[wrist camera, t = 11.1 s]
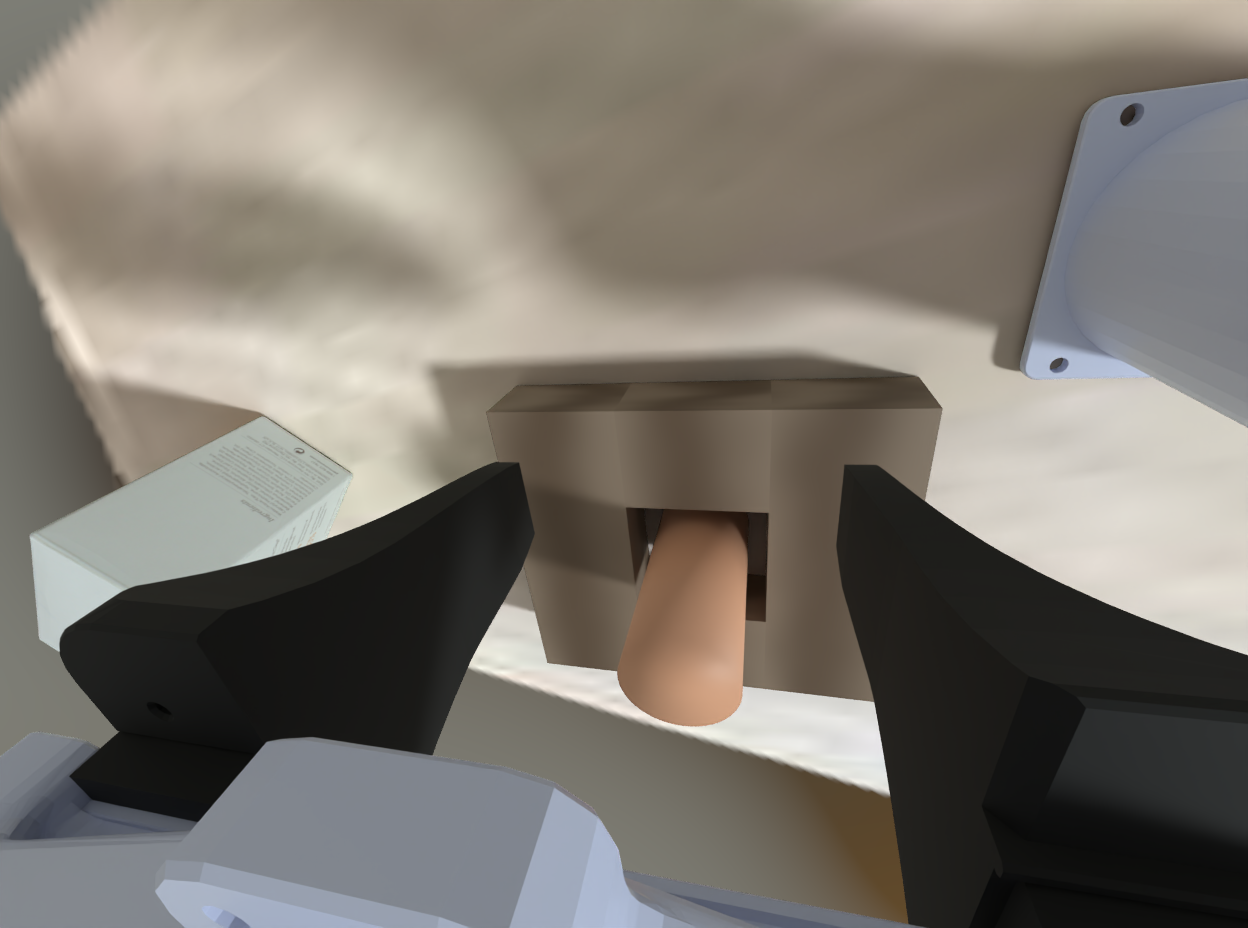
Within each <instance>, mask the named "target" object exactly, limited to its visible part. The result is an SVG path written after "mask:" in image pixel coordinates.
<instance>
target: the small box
mask: <svg viewBox="0 0 1248 928" xmlns="http://www.w3.org/2000/svg"><path fill="white" fill-rule="evenodd" d="M351 479H352V474H351V473H350V472H348V471H347V470H345V469H344V468H342V467H341V466H339V465H338V464H336V463H335V462H333V461H332V460H330V459H329V458H327V457H325V456H324V455H322V454H321V453H319V452H318V451H316V450H315V449H313V448H312V447H310V446H309V445H307V444H306V443H304V442H303V441H301V440H299V439H298V438H296V437H295V436H293V435H292V434H290V433H289V432H287V431H286V430H284V429H283V428H281V427H280V426H278V425H277V424H275V423H274V422H272V421H270V420H269V419H267V418H266V417H263V416H261V417H259V418H257V419H255V420H253V421H251V422H249V423H247V424H245V425H243V426H241V427H239V428H237V429H235V430H233V431H231V432H229V433H227V434H225V435H223V436H221V437H219V438H217V439H216V440H213V441H211V442H209V443H207V444H205V445H203V446H201V447H199V448H198V449H196V450H194V451H192V452H190V453H188V454H186V455H184V456H182V457H180V458H178V459H176V460H174V461H172V462H170V463H168V464H166V465H164V466H162V467H160V468H158V469H156V470H155V471H153V472H151V473H149V474H147V475H145V476H143V477H141V478H139V479H137V480H135V481H133V482H131V483H129V484H127V485H125V486H123V487H121V488H119V489H117V490H115V491H113V492H111V493H109V494H107V495H105V496H103V497H101V498H100V499H97V500H96V501H94V502H92V503H90V504H88V505H86V506H84V507H82V508H80V509H78V510H76V511H74V512H72V513H70V514H68V515H66V516H64V517H62V518H60V519H58V520H56V521H54V522H52V523H51V524H49V525H47V526H45V527H43V528H41V529H39V530H37V531H35V532H33V533H31V534H30V540H31V552H32V562H33V575H34V585H35V596H36V609H37V619H38V632H39V639H40V640H41V641H43V642H45V643H46V644H48V645H49V646H51V647H52V648H54V649H56V650H57V651H59V652H60V648H59V642H60V637H61V635H62V633H63V632H64V630H65V629H66V628H67V627H69V626H70V625H72V624H73V623H75V622H76V621H78V620H79V619H81V618H82V617H84V616H85V615H87V614H88V613H90V612H91V611H93V610H94V609H96V608H97V607H99V606H100V605H102V604H103V603H105V602H106V601H108V600H109V599H111V598H112V597H114V596H115V595H117V594H118V593H120V592H122V591H124V590H126V589H128V588H131V587H134V586H137V585H143V584H149V583H155V582H160V581H165V580H170V579H176V578H181V577H186V576H191V575H197V574H202V573H207V572H211V571H216V570H220V569H225V568H229V567H233V566H237V565H241V564H245V563H249V562H253V561H257V560H260V559H264V558H268V557H272V556H275V555H279V554H282V553H285V552H288V551H291V550H294V549H298V548H301V547H304V546H307V545H310V544H313V543H316V542H319V541H322V540H325V539H326V538H327V536H328V534H329V531H330V529H331V526H332V524H333V521H334V519H335V517H336V514H337V512H338V510H339V507H340V505H341V502H342V500H343V497H344V495H345V493H346V490H347V488H348V485H349V483H350V481H351Z"/></svg>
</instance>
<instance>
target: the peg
mask: <svg viewBox="0 0 1248 928" xmlns="http://www.w3.org/2000/svg"><path fill="white" fill-rule="evenodd" d="M748 536H749V520H748V516H747V513H746V512H735V511H709V510H683V509H664V511H663V514H662V518H661V521H660V525H659V528H658V532H657V535H656V538H655V542H654V545H653V549H652V552H651V556H650V559H649V562H648V566H647V569H646V573H645V576H644V579H643V583H642V586H641V590H640V593H639V597H638V600H637V603H636V607H635V610H634V614H633V617H632V621H631V624H630V627H629V631H628V634H627V638H626V641H625V645H624V648H623V651H622V655H621V658H620V662H619V665H618V671H617V675H618V681H619V684H620V686H621V689H622V690H623V692H624V694H625V695H626V696H627V698H628V699H629V700H630V701H631V702H632V703H633V704H634V705H635V706H637V707H638V708H639V709H640V710H642V711H644V712H645V713H647V714H649V715H650V716H652V717H654V718H657V719H659V720H662V721H665V722H668V723H672V724H676V725H682V726H706V725H711V724H715V723H718V722H720V721H723V720H725V719H726V718H728V717H729V716H731V715H732V714H733V713H734V712H735V711H736V710H737V708H738V707H739V705H740V703H741V699H742V690H743V664H744V639H745V613H746V587H747V562H748Z"/></svg>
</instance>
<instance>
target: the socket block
mask: <svg viewBox="0 0 1248 928" xmlns="http://www.w3.org/2000/svg"><path fill="white" fill-rule="evenodd" d="M942 409H943V408H942V407H941V406H940V404H939V403H938V402H937V400H936V399H935V398H934V396H933V395H932V394H931V392H930V391H929V390H928V388H927V387H926V386H925V384H924V383H923V382H922V380H921V379H920V378H919V377H885V378H840V379H796V380H751V381H706V382H662V383H617V384H573V385H528V386H516V387H515V388H514V389H513V390H511V391H510V392H509V393H508V394H507V395H506V396H504V397H503V398H502V399H501V400H500V401H499V402H498V403H496V404H495V405H494V406H493V407H492V408H491V409H490V410H488V411H487V412H486V414H487V418H488V422H489V426H490V430H491V434H492V438H493V442H494V446H495V450H496V454H497V458H498V462H519V464H520V468H521V473H522V477H523V482H524V486H525V491H526V495H527V500H528V504H529V509H530V513H531V518H532V522H533V527H534V531H535V535H534V538H533V540H532V543H531V546H530V549H529V552H528V554H527V557H526V559H525V562H524V564H523V565H524V569H525V573H526V577H527V581H528V585H529V589H530V593H531V597H532V601H533V605H534V609H535V614H536V618H537V622H538V626H539V630H540V634H541V638H542V642H543V646H544V650H545V654H546V658H547V663H552V664H560V665H569V666H577V667H586V668H594V669H602V670H611V671H618V665H619V662H620V658H621V655H622V651H623V648H624V645H625V641H626V638H627V634H628V631H629V627H630V624H631V621H632V617H633V614H634V610H635V607H636V603H637V600H638V597H639V593H640V590H641V586H642V583H643V579H644V576H645V573H646V569H647V566H648V562H649V550H648V540H647V531H646V521H645V511H644V508H657V509H683V510H709V511H735V512H761V513H767V541H766V576H758V575H747V587H746V613H745V639H744V664H743V686H745V687H754V688H762V689H770V690H779V691H787V692H796V693H804V694H812V695H821V696H829V697H838V698H846V699H854V700H863V701H871V702H874V699H873V694H872V690H871V686H870V682H869V678H868V675H867V672H866V668H865V665H864V661H863V658H862V654H861V651H860V648H859V644H858V641H857V637H856V634H855V631H854V627H853V624H852V620H851V617H850V613H849V610H848V606H847V603H846V599H845V596H844V592H843V589H842V584H841V577H840V571H839V564H838V556H837V549H836V542H837V532H838V523H839V513H840V503H841V493H842V484H843V474H844V464H847V465H878V466H880V467H881V468H882V469H884V470H885V471H886V472H888V473H889V474H890V475H892V476H893V477H894V478H896V479H897V480H898V481H899V482H901V483H902V484H903V485H904V486H906V487H907V488H908V489H910V490H911V491H912V492H913V493H915V494H916V495H917V496H919V497H920V498H921V499H923V500H924V501H925V497H926V492H927V487H928V482H929V476H930V471H931V466H932V461H933V456H934V450H935V445H936V440H937V435H938V430H939V424H940V419H941V414H942Z"/></svg>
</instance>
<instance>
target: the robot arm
mask: <svg viewBox="0 0 1248 928" xmlns="http://www.w3.org/2000/svg"><path fill="white" fill-rule="evenodd" d="M1129 105H1133V107H1134V108H1135V116H1134V118H1133V120H1132V121H1131V122H1130V123H1129V124H1128V125H1126V126H1123V125H1122V124H1121V122H1120V116H1121V114H1122V112H1123V110H1124V109H1125V108H1126V107H1128V106H1129ZM1057 358H1063V362H1062V364H1061V365H1060V366H1059V367H1057V368H1055V369H1050V364H1051V362H1052V361H1054V360H1055V359H1057ZM1020 370H1021V371H1022V373H1023V374H1024V375H1026V376H1027V377H1029V378H1030V379H1036V380H1042V379H1091V378H1141V377H1153V378H1155V379H1157V380H1159V381H1161V382H1163V383H1165V384H1166V385H1168V386H1170V387H1172V388H1174V389H1176V390H1178V391H1180V392H1182V393H1183V394H1185V395H1187V396H1189V397H1191V398H1193V399H1195V400H1197V401H1198V402H1200V403H1202V404H1204V405H1206V406H1208V407H1210V408H1212V409H1214V410H1215V411H1217V412H1219V413H1221V414H1223V415H1225V416H1227V417H1229V418H1230V419H1232V420H1234V421H1236V422H1238V423H1240V424H1242V425H1244V426H1246V427H1247V428H1248V78H1245V79H1237V80H1230V81H1222V82H1215V83H1207V84H1199V85H1192V86H1184V87H1177V88H1169V89H1161V90H1154V91H1146V92H1139V93H1131V94H1123V95H1116V96H1111V97H1107V98H1104V99H1101V100H1099V101H1097V102H1096V103H1094V104H1093V105H1092V106H1091V107H1090V108H1089V109H1088V110H1087V111H1086V113H1085V115H1084V117H1083V119H1082V121H1081V125H1080V129H1079V133H1078V137H1077V141H1076V145H1075V149H1074V153H1073V157H1072V161H1071V165H1070V169H1069V172H1068V176H1067V180H1066V184H1065V188H1064V192H1063V196H1062V200H1061V204H1060V208H1059V212H1058V216H1057V219H1056V223H1055V227H1054V231H1053V235H1052V239H1051V243H1050V247H1049V251H1048V255H1047V259H1046V263H1045V267H1044V270H1043V274H1042V278H1041V282H1040V286H1039V290H1038V294H1037V298H1036V302H1035V306H1034V310H1033V314H1032V317H1031V321H1030V325H1029V329H1028V333H1027V337H1026V341H1025V345H1024V349H1023V353H1022V357H1021V361H1020ZM534 535H535V531H534V527H533V522H532V518H531V513H530V509H529V504H528V500H527V495H526V491H525V486H524V482H523V477H522V473H521V468H520V464H519V462H495V463H492V464H489V465H486V466H484V467H482V468H480V469H477V470H475V471H473V472H471V473H469V474H467V475H465V476H463V477H461V478H459V479H457V480H455V481H453V482H451V483H450V484H448V485H446V486H444V487H442V488H440V489H438V490H436V491H434V492H432V493H430V494H428V495H426V496H424V497H422V498H420V499H418V500H416V501H414V502H412V503H410V504H408V505H406V506H404V507H402V508H400V509H398V510H396V511H393V512H391V513H389V514H387V515H385V516H383V517H381V518H378V519H376V520H374V521H372V522H369V523H367V524H365V525H362V526H360V527H357V528H355V529H352V530H349V531H347V532H344V533H342V534H339V535H337V536H334V537H331V538H328V539H325V540H322V541H319V542H316V543H313V544H310V545H307V546H304V547H301V548H298V549H294V550H291V551H288V552H285V553H282V554H279V555H275V556H272V557H268V558H264V559H260V560H257V561H253V562H249V563H245V564H241V565H237V566H233V567H229V568H225V569H220V570H216V571H211V572H207V573H202V574H197V575H191V576H186V577H181V578H176V579H170V580H165V581H160V582H155V583H149V584H143V585H137V586H134V587H131V588H128V589H126V590H124V591H122V592H120V593H118V594H117V595H115V596H114V597H112V598H111V599H109V600H108V601H106V602H105V603H103V604H102V605H100V606H99V607H97V608H96V609H94V610H93V611H91V612H90V613H88V614H87V615H85V616H84V617H82V618H81V619H79V620H78V621H76V622H75V623H73V624H72V625H70V626H69V627H67V628H66V629H65V630H64V632H63V633H62V635H61V637H60V642H59V648H60V656H61V658H62V661H63V663H64V665H65V667H66V669H67V670H68V672H69V673H70V675H71V676H72V677H73V679H74V680H75V682H76V683H77V684H78V685H79V686H80V688H81V689H82V690H83V691H84V692H85V693H86V694H87V695H88V697H89V698H90V699H91V701H92V702H93V703H94V704H95V705H96V706H97V707H98V709H99V710H100V711H101V712H102V713H103V715H104V716H105V717H106V718H107V719H108V720H109V722H110V723H111V724H112V725H113V726H114V728H115V729H116V730H117V731H120V732H118V734H116V735H115V736H114V737H113V738H112V739H111V740H109V741H108V742H107V743H106V744H105V745H104V746H103V747H101V748H99V747H97V746H95V745H93V744H92V743H90V742H88V741H85V740H82V739H79V738H73V737H68V736H62V735H56V734H50V733H45V732H34V733H30V734H28V735H27V736H26V737H25V738H23V739H22V740H21V741H20V742H18V743H17V744H15V745H14V746H13V747H12V748H10V749H9V750H8V751H6V752H5V753H4V754H3V755H1V756H0V928H1248V655H1245V654H1242V653H1239V652H1236V651H1233V650H1229V649H1226V648H1223V647H1220V646H1217V645H1214V644H1211V643H1208V642H1205V641H1202V640H1199V639H1197V638H1194V637H1191V636H1189V635H1186V634H1183V633H1181V632H1178V631H1175V630H1173V629H1170V628H1167V627H1164V626H1162V625H1159V624H1156V623H1154V622H1151V621H1148V620H1146V619H1143V618H1141V617H1138V616H1136V615H1133V614H1131V613H1128V612H1126V611H1123V610H1121V609H1119V608H1116V607H1114V606H1111V605H1109V604H1106V603H1104V602H1102V601H1100V600H1097V599H1095V598H1093V597H1091V596H1088V595H1086V594H1084V593H1082V592H1080V591H1077V590H1075V589H1073V588H1071V587H1069V586H1066V585H1064V584H1062V583H1060V582H1058V581H1056V580H1054V579H1052V578H1050V577H1048V576H1046V575H1043V574H1041V573H1039V572H1037V571H1036V570H1034V569H1032V568H1030V567H1028V566H1026V565H1024V564H1023V563H1021V562H1019V561H1017V560H1015V559H1013V558H1012V557H1010V556H1008V555H1006V554H1004V553H1002V552H1001V551H999V550H997V549H995V548H994V547H992V546H990V545H989V544H987V543H985V542H984V541H982V540H981V539H979V538H978V537H976V536H974V535H973V534H971V533H970V532H968V531H967V530H965V529H964V528H962V527H961V526H959V525H957V524H956V523H954V522H953V521H952V520H950V519H949V518H947V517H946V516H944V515H943V514H942V513H940V512H939V511H937V510H936V509H935V508H933V507H932V506H931V505H929V504H928V503H927V502H925V501H924V500H923V499H921V498H920V497H919V496H917V495H916V494H915V493H913V492H912V491H911V490H910V489H908V488H907V487H906V486H904V485H903V484H902V483H901V482H899V481H898V480H897V479H896V478H894V477H893V476H892V475H890V474H889V473H888V472H886V471H885V470H884V469H882V468H881V467H880V466H878V465H847V464H844V474H843V484H842V493H841V503H840V513H839V523H838V532H837V542H836V549H837V556H838V564H839V571H840V577H841V584H842V589H843V592H844V596H845V599H846V603H847V606H848V610H849V613H850V617H851V620H852V624H853V627H854V631H855V634H856V637H857V641H858V644H859V648H860V651H861V654H862V658H863V661H864V665H865V668H866V672H867V675H868V678H869V682H870V686H871V690H872V694H873V699H874V703H875V708H876V714H877V719H878V725H879V731H880V736H881V742H882V748H883V753H884V760H885V766H886V772H887V778H888V784H889V790H890V796H891V803H892V809H893V816H894V823H895V829H896V836H897V843H898V850H899V856H900V863H901V870H902V877H903V884H904V892H905V900H906V908H907V915H908V923H909V924H904V923H899V922H894V921H889V920H883V919H878V918H873V917H867V916H863V915H857V914H852V913H847V912H841V911H836V910H831V909H825V908H821V907H815V906H810V905H805V904H800V903H794V902H789V901H784V900H779V899H774V898H769V897H763V896H758V895H753V894H748V893H743V892H737V891H732V890H727V889H722V888H716V887H711V886H706V885H700V884H695V883H690V882H685V881H679V880H675V879H669V878H664V877H659V876H654V875H649V874H643V873H638V872H633V871H628V870H622V865H621V860H620V855H619V850H618V848H617V846H616V844H615V843H614V841H613V840H612V838H611V836H610V834H609V833H608V831H607V830H606V828H605V826H604V825H603V823H602V822H601V820H600V819H599V817H598V815H597V814H596V812H595V810H594V809H593V808H592V807H591V806H590V805H588V804H586V803H585V802H584V801H582V800H581V799H579V798H578V797H576V796H574V795H573V794H572V793H570V792H569V791H567V790H566V789H564V788H563V787H561V786H560V785H558V784H557V783H555V782H554V781H551V780H547V779H544V778H541V777H538V776H535V775H531V774H528V773H525V772H522V771H519V770H515V769H512V768H509V767H505V766H498V765H491V764H485V763H478V762H472V761H465V760H459V759H452V758H445V757H439V756H433V752H434V749H435V746H436V744H437V741H438V738H439V736H440V734H441V731H442V728H443V726H444V723H445V721H446V718H447V716H448V713H449V711H450V708H451V706H452V703H453V701H454V698H455V695H456V694H457V691H458V689H459V687H460V684H461V682H462V680H463V677H464V675H465V673H466V670H467V668H468V666H469V663H470V661H471V659H472V657H473V655H474V653H475V651H476V650H477V648H478V646H479V644H480V642H481V640H482V638H483V637H484V635H485V633H486V631H487V630H488V628H489V626H490V624H491V623H492V621H493V619H494V617H495V616H496V614H497V612H498V610H499V609H500V607H501V605H502V603H503V602H504V600H505V598H506V596H507V595H508V593H509V591H510V589H511V587H512V586H513V584H514V582H515V580H516V578H517V576H518V575H519V573H520V571H521V569H522V567H523V564H524V562H525V559H526V557H527V554H528V552H529V549H530V546H531V543H532V540H533V538H534Z"/></svg>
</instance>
